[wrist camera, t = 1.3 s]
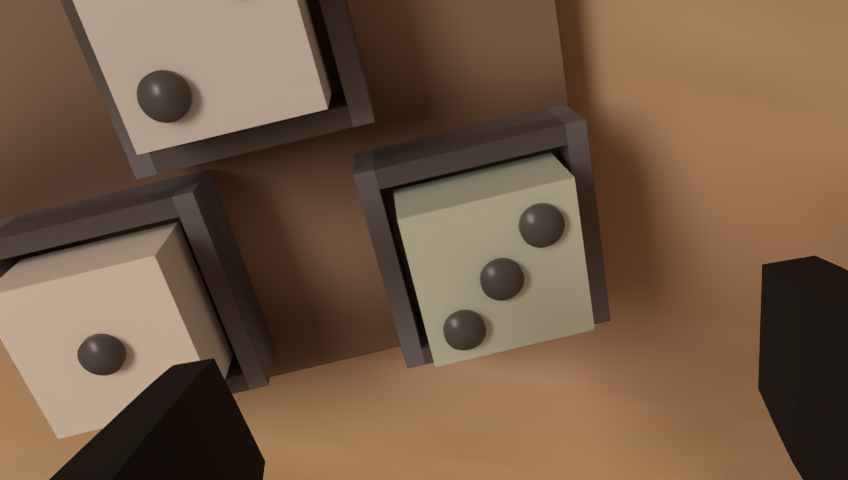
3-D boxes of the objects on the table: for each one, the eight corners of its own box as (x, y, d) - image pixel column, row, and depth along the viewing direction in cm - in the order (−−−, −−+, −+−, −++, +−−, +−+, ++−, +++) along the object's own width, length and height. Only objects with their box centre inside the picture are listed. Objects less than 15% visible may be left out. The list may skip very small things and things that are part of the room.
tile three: (571, 291, 18) (597, 333, 16) (428, 325, 18) (436, 372, 16) (550, 152, 16) (577, 179, 14) (393, 189, 16) (397, 222, 14)
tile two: (332, 91, 15) (327, 111, 13) (164, 131, 15) (133, 157, 13) (279, -100, 13) (264, -110, 11) (91, -54, 14) (44, -56, 12)
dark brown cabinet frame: (581, 281, 20) (615, 331, 18) (117, 392, 21) (79, 458, 18) (515, -197, 15) (549, -231, 12) (-106, -44, 15) (-208, -44, 13)
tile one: (232, 355, 18) (216, 406, 16) (89, 389, 18) (54, 444, 16) (178, 222, 16) (151, 259, 14) (20, 259, 16) (-29, 302, 14)
